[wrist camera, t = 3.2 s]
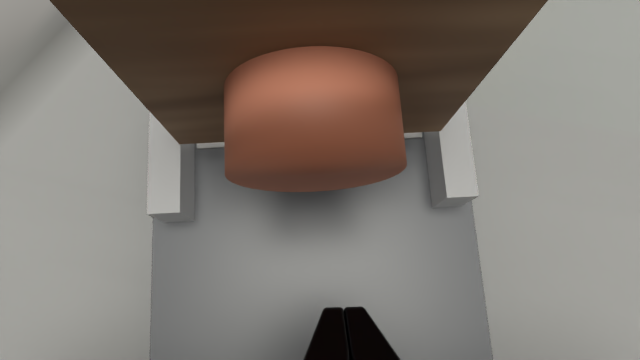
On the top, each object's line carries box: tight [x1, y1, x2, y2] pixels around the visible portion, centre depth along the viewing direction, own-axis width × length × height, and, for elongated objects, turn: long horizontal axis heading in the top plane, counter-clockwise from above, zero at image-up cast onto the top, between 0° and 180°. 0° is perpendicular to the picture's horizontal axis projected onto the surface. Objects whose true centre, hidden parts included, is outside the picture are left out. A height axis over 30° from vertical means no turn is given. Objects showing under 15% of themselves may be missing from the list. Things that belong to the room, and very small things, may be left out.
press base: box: [147, 101, 493, 360], centre depth 16 cm, size 14×11×3 cm
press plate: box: [50, 0, 548, 192], centre depth 10 cm, size 3×8×8 cm, turn 93°
